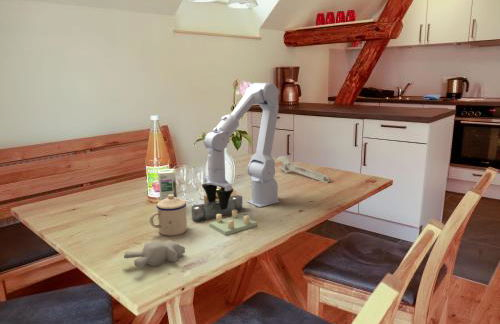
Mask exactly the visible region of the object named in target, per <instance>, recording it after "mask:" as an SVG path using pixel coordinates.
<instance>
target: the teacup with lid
mask: <svg viewBox="0 0 500 324" xmlns="http://www.w3.org/2000/svg"><path fill="white" fill-rule="evenodd" d="M155 208H157V209H156V210H157V211H156V212H153V213H152V214H151V215H150V216H149V223H150V225H151V226H152V227H153V228H156V229H158V231H159V233H160V234H161V235H163V236H178V235H181V234H184V233H185V232H186V231H187V229H188V225H187V224H188V222H187V202H186V200H184V199H182V198H179V197H177V198H176V197H174V195H173V194H170V195H168V198H165V199H164V200H161V201H160V200H159V201H158V202H157V204H156V207H155ZM156 216H157V220H158V224H155V223H154V218H155V217H156Z"/></svg>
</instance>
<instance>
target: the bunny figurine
mask: <svg viewBox="0 0 500 324" xmlns="http://www.w3.org/2000/svg"><path fill="white" fill-rule="evenodd" d="M185 251H186V247H185V246H184V245H181V244H180V243H178V242H175V241H173V240H167V241H165V242H161V241H160V242H157V241H152V242H148V243H145V244H144V246H143V248H142V251H128V252H125V253H124V255H123V258H124V259H132V258H136V259H134V260H133V263H134V266H135V267H138V268H139V267H140V268H141V267H144V266H145V265H146V264H148V265H150V266H151V267H153V268H154V267H158V266H161V265H163V264H165V263H166V262H176V261H177V260H178V259H179V258H181V257H182V256H183V254H185ZM177 258H178V259H177Z"/></svg>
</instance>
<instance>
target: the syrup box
mask: <svg viewBox="0 0 500 324" xmlns="http://www.w3.org/2000/svg"><path fill="white" fill-rule="evenodd" d="M157 175H158V189H159V190H158V191H159V199H160V200H159V201H161V200H164V199H165V198H168V195H170V194H173V195H174V197H176V198H178V193H177V184H176V183H177V182H176V171H175V169H174V168H168V169H167V168H166V169H165V168H164V169H157Z"/></svg>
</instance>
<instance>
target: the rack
mask: <svg viewBox="0 0 500 324" xmlns="http://www.w3.org/2000/svg"><path fill="white" fill-rule="evenodd" d="M215 218H216V220H215V221H211V222H209V228H211V229H213V230H215V231H217V232H218V233H220V234H222V235H224V236H229V235H231V234H234V233H238V232H242V231H245V230H247V229H251V228H255V227H257V223H258V222H257V221H255V220H253V219H250V215H248V214H246V215H243V214H238V212H237V210H232V213H231V216H229V217H225V218H223V215H222V214H216V217H215Z"/></svg>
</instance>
